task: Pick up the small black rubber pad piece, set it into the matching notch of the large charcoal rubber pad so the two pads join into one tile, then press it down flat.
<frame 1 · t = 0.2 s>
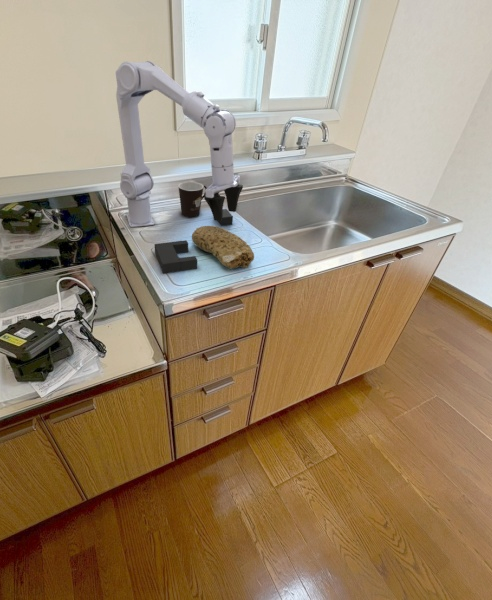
hand: (225, 215, 90), 10 cm above the counter, tool pointing down, fingers open, 7 cm apart
pad piece: (223, 221, 111), on the counter
base pad: (175, 260, 90), on the counter
coffee mug: (194, 213, 115), on the counter
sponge: (220, 255, 93), on the counter
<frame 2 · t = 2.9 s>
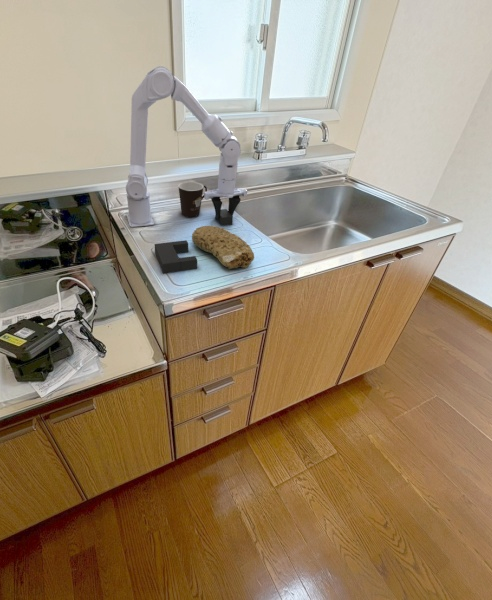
hand: (223, 217, 110), 1 cm above the counter, tool pointing down, fingers closed on pad piece, 4 cm apart
pad piece: (223, 221, 111), on the counter, touching gripper
everything else where it was.
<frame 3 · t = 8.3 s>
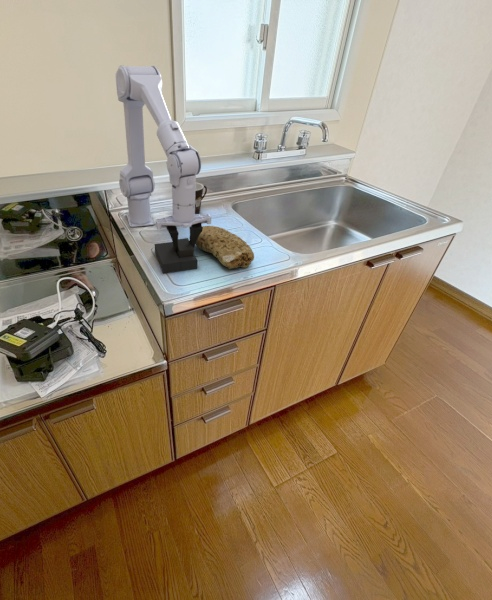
hand: (183, 249, 88), 3 cm above the counter, tool pointing down, fingers closed on pad piece, 4 cm apart
pad piece: (183, 253, 89), point 2 cm above the counter, touching gripper
everything else where it was.
when the fingers open (3 cm above the counter, at t = 10.6 s): pad piece drops 2 cm, on the counter.
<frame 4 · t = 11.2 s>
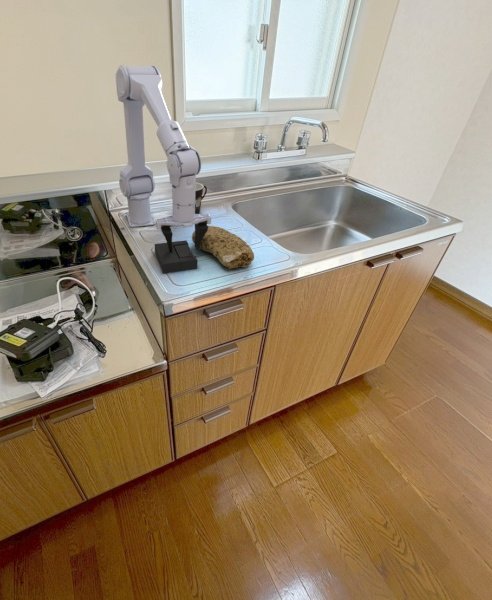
hand: (183, 249, 88), 3 cm above the counter, tool pointing down, fingers open, 7 cm apart
pad piece: (183, 259, 90), on the counter
everything else where it was.
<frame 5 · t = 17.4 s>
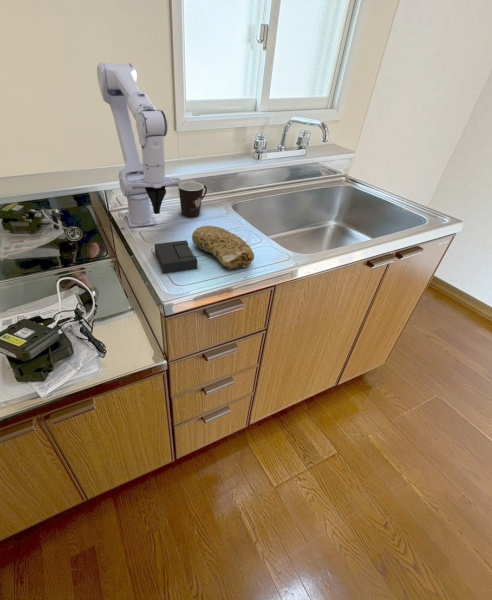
hand: (156, 212, 92), 9 cm above the counter, tool pointing down, fingers closed
nothing on the counter moved.
at the end: pad piece 0.1 cm from the target spot on the base pad, point 0.0 cm above the base pad's base; pad piece tilted 0°; the gripper is holding nothing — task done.
